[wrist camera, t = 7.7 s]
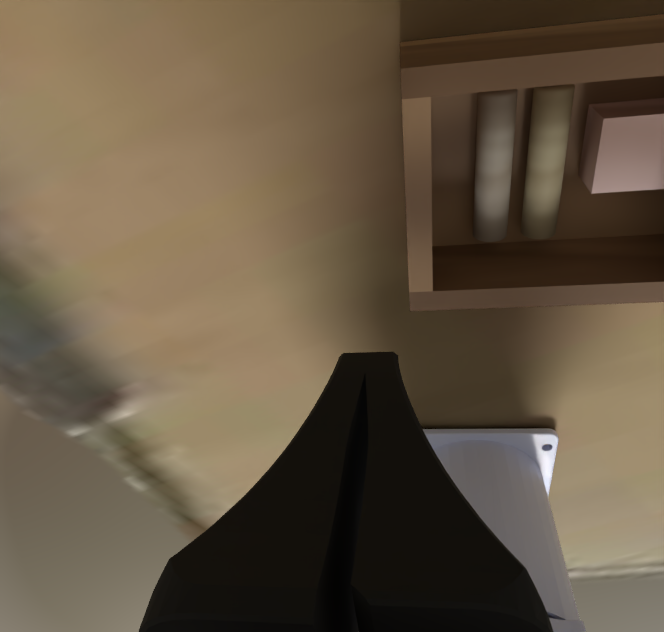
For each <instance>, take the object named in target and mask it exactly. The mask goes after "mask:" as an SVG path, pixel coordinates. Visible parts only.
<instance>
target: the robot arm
mask: <svg viewBox="0 0 664 632" xmlns="http://www.w3.org/2000/svg"><path fill="white" fill-rule="evenodd" d="M545 444H548V445H545ZM557 446H558V435H557V432H556V431H555V430H553V429H548V428H533V429H422V427H421V425H420V423H419V421H418V419H417V417H416V414H415V412H414V410H413V407H412V405H411V403H410V400H409V398H408V395H407V392H406V390H405V387H404V384H403V380H402V377H401V373H400V369H399V363H398V355H397V354H395V353H394V352H367V353H343V354H342V355H341V356H340V357H339V359H338V362H337V364H336V367H335V369H334V371H333V373H332V375H331V377H330V379H329V381H328V383H327V385H326V387H325V389H324V391H323V392H322V394H321V396H320V397H319V399H318V401H317V403H316V404H315V406H314V408H313V409H312V411H311V413H310V414H309V416H308V417H307V419H306V420H305V422H304V423H303V425H302V426H301V428H300V429H299V431H298V432H297V434H296V435H295V437H294V438H293V439H292V441H291V442H290V443H289V445H288V446H287V447H286V449H285V450H284V451H283V453H282V454H281V455H280V456H279V458H278V459H277V460H276V461H275V463H274V464H273V465H272V466H271V467H270V469H269V470H268V471H267V472H266V473H265V474H264V475H263V476H262V477H261V479H260V480H259V481H258V482H257V483H256V484H255V485H254V486H253V487H252V488H251V489H250V490H249V491H248V492H247V493H246V495H245V496H244V497H243V498H242V499H240V500H239V501H238V502H237V503H236V504H235V505H234V506H233V507H232V508H231V509H230V510H229V511H227V512H226V513H225V514H224V515H223V516H222V517H221V518H220V519H219V520H218V521H217V522H216V523H214V524H213V525H212V526H211V527H210V528H209V529H207V530H206V531H205V532H204V533H202V534H201V535H200V536H199V537H197V538H196V539H195V540H194V541H192V542H191V543H190V544H188V545H187V546H186V547H185V548H184V549H182V550H181V551H180V552H178V553H177V554H176V555H174V556H173V557H171V558H170V559H169V561H168V563H167V565H166V566H165V568H164V570H163V572H162V574H161V576H160V578H159V580H158V583H157V585H156V587H155V589H154V591H153V593H152V596H151V599H150V601H149V605H148V607H147V610H146V613H145V616H144V618H143V621H142V623H141V626H140V629H139V632H586V630H585V626H584V623H583V621H581V620H580V618H579V614H578V611H577V607H576V603H575V600H574V595H573V592H572V587H571V584H570V580H569V576H568V572H567V568H566V564H565V561H564V557H563V553H562V549H561V545H560V541H559V537H558V534H557V530H556V526H555V522H554V518H553V514H552V511H551V507H550V503H549V499H548V496H549V490H550V485H551V479H552V474H553V468H554V462H555V457H556V451H557Z"/></svg>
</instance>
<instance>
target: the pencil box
mask: <svg viewBox="0 0 664 632" xmlns="http://www.w3.org/2000/svg"><path fill="white" fill-rule="evenodd" d="M400 70H401V96H402V122H403V147H404V173H405V199H406V225H407V251H408V276H409V302H410V311H431V310H459V309H486V308H513V307H540V306H568V305H595V304H622V303H649V302H664V14H659V15H650V16H641V17H631V18H622V19H612V20H603V21H594V22H584V23H575V24H565V25H556V26H547V27H537V28H528V29H518V30H509V31H500V32H490V33H481V34H471V35H462V36H453V37H443V38H434V39H424V40H415V41H405V42H400Z"/></svg>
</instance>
